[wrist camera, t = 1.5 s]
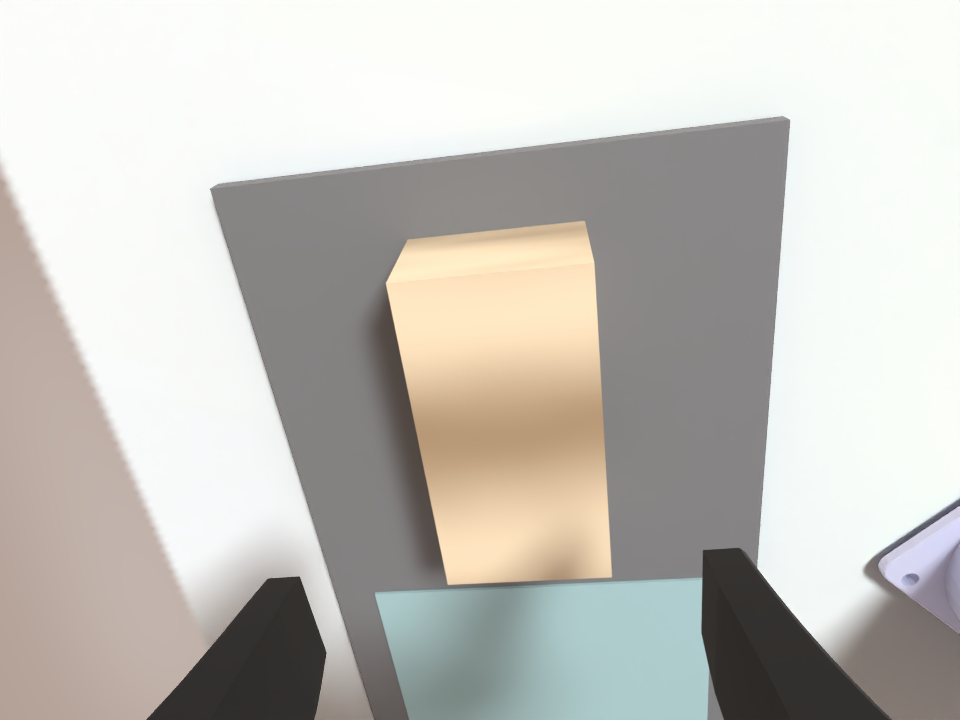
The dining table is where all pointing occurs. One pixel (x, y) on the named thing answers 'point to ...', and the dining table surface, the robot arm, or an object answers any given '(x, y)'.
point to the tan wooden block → (507, 399)
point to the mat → (625, 400)
